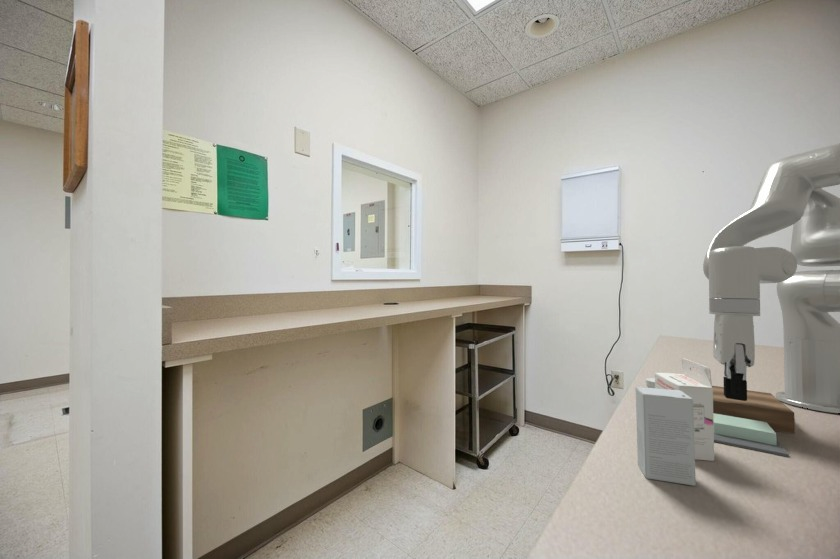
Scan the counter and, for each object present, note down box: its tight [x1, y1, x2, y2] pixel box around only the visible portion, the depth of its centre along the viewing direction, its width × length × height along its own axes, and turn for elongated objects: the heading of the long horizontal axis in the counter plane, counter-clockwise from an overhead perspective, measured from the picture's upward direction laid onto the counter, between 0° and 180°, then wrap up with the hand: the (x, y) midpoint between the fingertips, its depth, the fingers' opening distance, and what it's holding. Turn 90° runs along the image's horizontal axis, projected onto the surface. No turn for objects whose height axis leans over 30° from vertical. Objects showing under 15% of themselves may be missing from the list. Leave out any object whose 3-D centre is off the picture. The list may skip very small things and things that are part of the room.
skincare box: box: [635, 386, 697, 487], centre depth 48 cm, size 6×4×12 cm
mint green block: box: [713, 413, 777, 446], centre depth 61 cm, size 6×8×2 cm
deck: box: [712, 385, 796, 435], centre depth 72 cm, size 14×16×4 cm
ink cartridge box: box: [654, 357, 715, 462], centre depth 56 cm, size 9×5×15 cm, turn 168°
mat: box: [714, 433, 790, 458], centre depth 62 cm, size 12×13×1 cm
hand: (735, 398), depth 66 cm, fingers closed
